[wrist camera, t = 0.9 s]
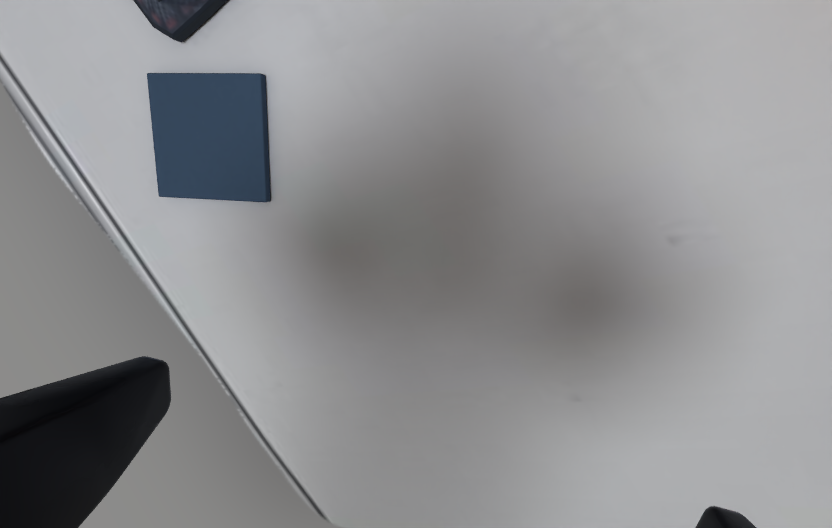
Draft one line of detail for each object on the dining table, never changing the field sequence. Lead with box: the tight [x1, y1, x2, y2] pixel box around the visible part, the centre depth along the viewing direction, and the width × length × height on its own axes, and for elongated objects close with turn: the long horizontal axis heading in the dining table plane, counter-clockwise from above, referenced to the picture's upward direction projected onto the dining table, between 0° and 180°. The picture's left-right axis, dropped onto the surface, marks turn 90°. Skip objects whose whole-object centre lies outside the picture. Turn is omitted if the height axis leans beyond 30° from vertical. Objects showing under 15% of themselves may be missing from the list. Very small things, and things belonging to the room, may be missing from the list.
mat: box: [147, 73, 270, 202], centre depth 23 cm, size 6×6×1 cm
